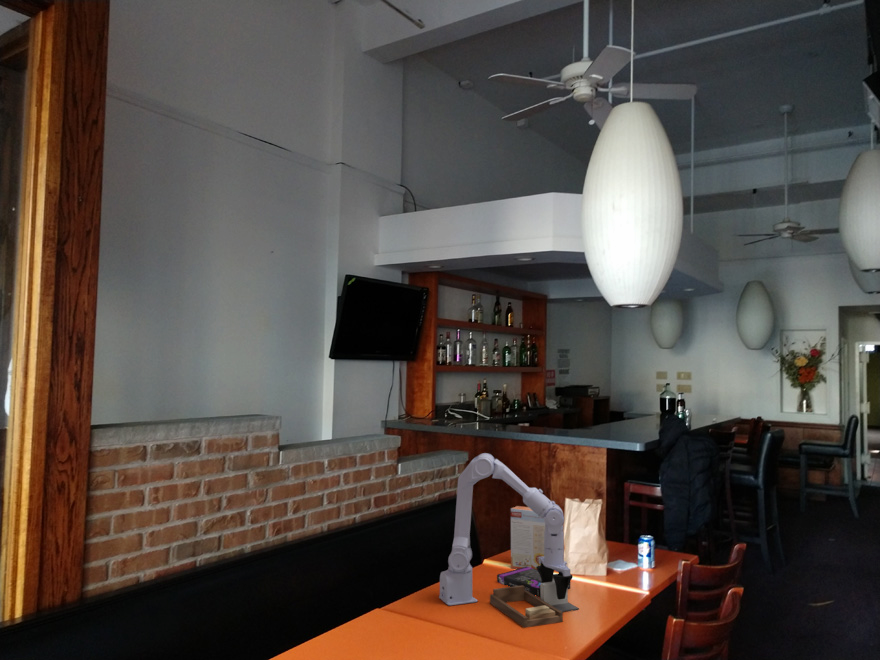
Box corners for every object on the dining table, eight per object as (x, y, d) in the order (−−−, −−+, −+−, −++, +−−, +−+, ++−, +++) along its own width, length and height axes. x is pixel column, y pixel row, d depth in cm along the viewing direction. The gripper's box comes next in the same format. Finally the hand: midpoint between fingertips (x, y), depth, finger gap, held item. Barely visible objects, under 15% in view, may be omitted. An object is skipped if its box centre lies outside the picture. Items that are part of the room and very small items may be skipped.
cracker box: (554, 570, 231) (554, 509, 233) (547, 575, 226) (547, 512, 228) (517, 564, 239) (517, 504, 240) (510, 568, 234) (510, 507, 235)
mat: (551, 613, 189) (551, 612, 189) (530, 600, 200) (530, 599, 201) (578, 609, 193) (578, 608, 193) (556, 596, 204) (556, 595, 204)
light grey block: (544, 606, 194) (543, 585, 195) (540, 604, 196) (540, 583, 196) (567, 603, 197) (567, 582, 198) (564, 600, 199) (563, 580, 199)
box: (496, 585, 218) (540, 599, 203) (496, 574, 218) (540, 587, 203) (526, 576, 227) (571, 590, 212) (526, 566, 227) (571, 578, 212)
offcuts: (527, 625, 180) (527, 611, 180) (522, 622, 183) (522, 608, 183) (556, 621, 183) (556, 607, 184) (551, 618, 186) (551, 604, 186)
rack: (524, 627, 179) (524, 612, 179) (490, 603, 198) (490, 589, 198) (562, 621, 183) (562, 606, 183) (525, 598, 202) (525, 584, 202)
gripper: (579, 552, 192) (579, 600, 192) (552, 540, 206) (553, 585, 205) (558, 554, 190) (558, 603, 189) (532, 542, 203) (532, 588, 202)
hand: (554, 594), depth 197 cm, fingers open, 7 cm apart
